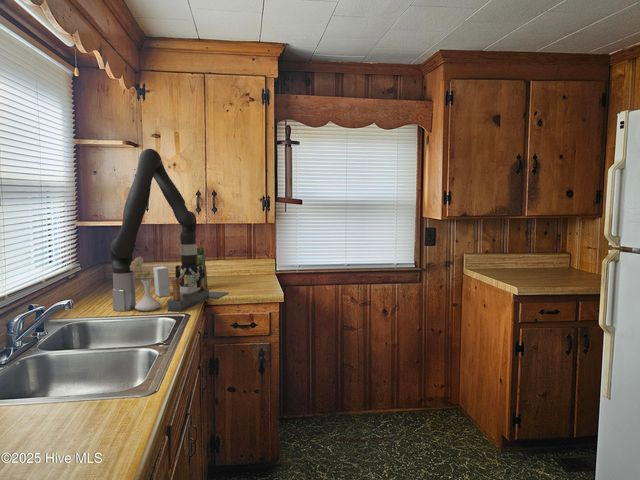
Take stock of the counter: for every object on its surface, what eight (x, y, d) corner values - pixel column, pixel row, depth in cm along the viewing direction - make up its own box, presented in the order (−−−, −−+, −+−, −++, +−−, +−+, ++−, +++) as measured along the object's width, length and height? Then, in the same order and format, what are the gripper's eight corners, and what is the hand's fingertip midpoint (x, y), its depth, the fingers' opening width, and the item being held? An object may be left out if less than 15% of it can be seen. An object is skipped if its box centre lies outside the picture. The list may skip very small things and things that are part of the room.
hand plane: (180, 312, 214) (179, 280, 213) (167, 311, 216) (166, 279, 214) (209, 299, 239) (208, 270, 238) (197, 298, 241) (196, 270, 239)
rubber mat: (217, 298, 240) (217, 297, 240) (196, 297, 243) (196, 296, 243) (228, 293, 251) (228, 292, 251) (208, 292, 255) (208, 291, 255)
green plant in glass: (207, 291, 258) (205, 245, 255) (184, 292, 255) (182, 246, 253) (207, 287, 269) (206, 242, 266) (185, 288, 266) (183, 243, 264)
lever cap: (189, 293, 222) (188, 284, 222) (179, 292, 224) (179, 284, 223) (200, 289, 232) (199, 280, 231) (191, 288, 233) (190, 280, 233)
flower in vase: (152, 305, 227) (150, 253, 225) (166, 309, 220) (163, 255, 217) (126, 310, 217) (123, 256, 215) (139, 314, 210) (136, 258, 207)
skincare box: (170, 296, 247) (169, 267, 245) (158, 297, 243) (157, 268, 242) (165, 293, 254) (164, 265, 252) (154, 294, 250) (152, 266, 249)
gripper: (171, 254, 224) (173, 288, 226) (198, 254, 221) (200, 289, 223) (179, 252, 232) (181, 284, 233) (206, 252, 228) (207, 285, 230)
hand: (190, 287), depth 228 cm, fingers open, 8 cm apart
